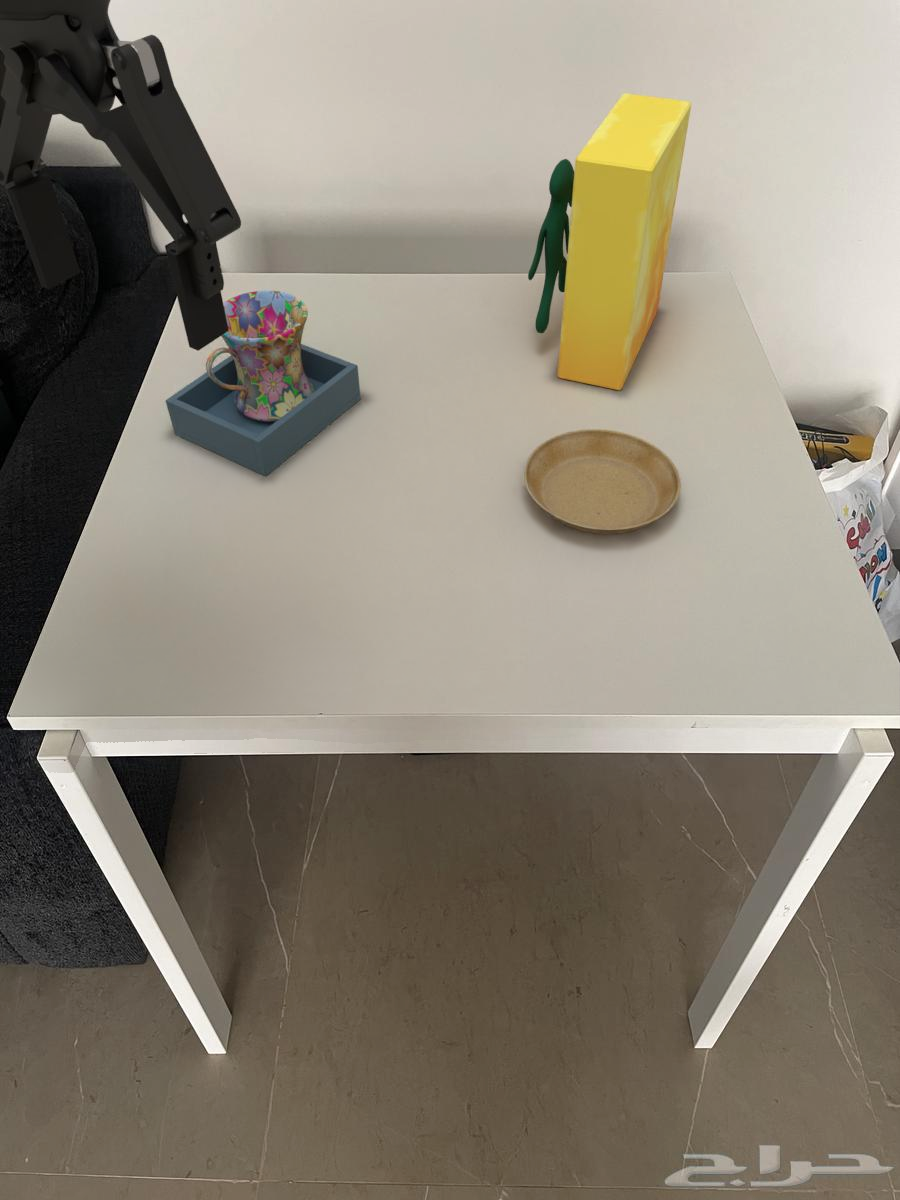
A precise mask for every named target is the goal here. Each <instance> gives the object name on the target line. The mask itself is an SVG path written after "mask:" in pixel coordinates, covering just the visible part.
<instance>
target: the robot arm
mask: <svg viewBox="0 0 900 1200" xmlns="http://www.w3.org/2000/svg"><path fill="white" fill-rule="evenodd" d="M111 1H112V0H0V185H1V186H4V188H5V191H6V194H7V197H8V200H9V202H10V205H11V207H12V211H13V213H14V217H15V219H16V222H17V224H18V225H19V228H20V231H21V233H22V236H23V239H24V242H25V244H26V247H27V250H28V254H29V256H30V258H31V261H32V265H33V267H34V270H35V272H36V275H37V278H38V281H39V284H40V287H42V288H44V289H47V290H51V289H53V288H54V287H56V286H58V285H60V284H62V283H64V282H66V281H67V280H69V279H71V278H74V277H75V276H76V275H79V274H80V273H81V270H80V267H79V263H78V261H77V258H76V254H75V251H74V248H73V245H72V241H71V238H70V235H69V232H68V229H67V226H66V223H65V219H64V217H63V214H62V210H61V207H60V204H59V201H58V197H57V195H56V192H55V188H54V186H53V183H52V179H51V176H50V175H48V174H45V173H41V172H40V173H39V174H37V175H34V174H33V173H35V172H37V171H39V170H41V169H43V168H45V167H47V164H46V163H44V160H43V159H42V158H41V157H42V154H43V150H44V146H45V143H46V139H47V135H48V133H49V132H48V131H49V129H50V125H51V122H52V119H53V116H57V115H61V116H64V117H65V118H66V119H68V120H70V121H71V122H74V123H76V124H81V125H82V127H83V128H84V129H85V131H86V132H87V133H88V134H89V135H90V137H91V138H93V139H94V140H96V141H97V140H98V141H101V142H103V143H104V144H105V145H106V146H107V148H108V150H109V151H110V152H111V154H112V155H113V156H114V158H115V159H116V161H117V162H118V164H119V165H120V167H121V168H122V169H123V171H124V172H125V174H126V175H127V176H128V177H129V179H130V181H131V182H132V184H133V185H134V186H135V188H136V189H137V191H138V192H139V193H140V195H141V196H142V198H143V199H144V200H145V202H146V203H147V204H148V206H149V207H150V208H151V210H152V211H153V213H154V214H155V216H156V217H157V218H158V220H159V222H161V224H162V226H163V227H164V228H165V230H166V231H167V232H168V235H170V237H171V238H172V239H173V241H171V242H169V243H167V244H164V249H165V253H166V257H167V261H168V265H169V270H170V274H171V277H172V282H173V285H174V290H175V294H176V298H177V302H178V306H179V310H180V314H181V318H182V322H183V327H184V331H185V335H186V339H187V342H188V347H189V348H191V349H192V350H195V351H198V352H199V351H201V350H202V349H203V348H205V347H206V346H208V345H210V344H211V343H213V342H214V341H215V340H217V339H219V338H221V336H222V335H223V334H225V333H226V332H228V331H229V329H228V324H227V319H226V314H225V310H224V305H223V303H224V300H223V295H222V291H223V290H224V286H225V280H224V275H223V269H222V267H221V266H222V265H221V260H220V256H219V251H218V246H217V242H218V241H220V240H222V239H225V237H227V236H229V235H231V234H232V233H234V232H235V231H238V230H239V229H240V228H241V227H242V220H241V217H240V215H239V213H238V210H237V208H236V207H235V205H234V202H233V201H232V199H231V197H230V195H229V193H228V191H227V189H226V187H225V185H224V182H223V180H222V179H221V176H220V174H219V172H218V171H217V168H216V167H215V164H214V163H213V160H212V159H211V156H210V155H209V152H208V151H207V148H206V146H205V145H204V142H203V140H202V139H201V136H200V134H199V132H198V130H197V128H196V126H195V123H194V122H193V119H192V118H191V116H190V114H189V113H188V110H187V108H186V106H185V104H184V102H183V100H182V98H181V96H180V94H179V92H178V89H177V88H176V86H175V84H174V80H173V76H172V72H171V70H170V66H169V62H168V58H167V55H166V51H165V48H164V46H163V43H162V42H161V40H160V38H158V37H157V36H156V35H155V34H149V35H146V36H144V37H141V38H138V39H136V40H133V41H131V40H130V41H129V40H120V38H119V37H118V34H117V33H116V31H115V29H114V26H113V24H112V21H111V19H110V16H109V7H110V4H111ZM115 99H117V100H118V102H119V103H120V105H118V106H117V107H114V108H113V106H114V103H115ZM42 163H43V164H42ZM184 217H185V220H186V221H185V220H184Z"/></svg>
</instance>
